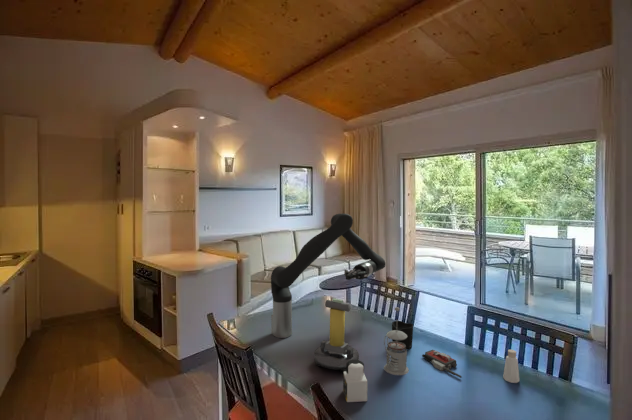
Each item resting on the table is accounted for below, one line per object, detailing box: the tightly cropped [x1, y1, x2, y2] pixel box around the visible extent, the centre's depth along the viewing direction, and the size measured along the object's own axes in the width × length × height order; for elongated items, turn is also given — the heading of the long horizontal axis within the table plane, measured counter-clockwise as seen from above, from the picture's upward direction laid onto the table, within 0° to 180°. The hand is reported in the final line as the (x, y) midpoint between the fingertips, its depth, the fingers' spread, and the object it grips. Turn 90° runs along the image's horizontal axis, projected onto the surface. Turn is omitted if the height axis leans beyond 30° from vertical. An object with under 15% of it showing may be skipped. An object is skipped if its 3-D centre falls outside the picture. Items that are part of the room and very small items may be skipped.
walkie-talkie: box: [421, 349, 463, 379], centre depth 143 cm, size 9×4×20 cm
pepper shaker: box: [502, 349, 520, 384], centre depth 133 cm, size 5×5×11 cm
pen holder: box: [391, 320, 414, 351], centre depth 161 cm, size 9×9×10 cm
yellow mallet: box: [324, 298, 351, 355], centre depth 144 cm, size 10×6×22 cm, turn 58°
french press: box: [383, 306, 410, 376], centre depth 141 cm, size 10×12×25 cm
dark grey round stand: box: [314, 339, 360, 375], centre depth 144 cm, size 18×18×8 cm
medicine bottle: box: [342, 359, 368, 403], centre depth 122 cm, size 7×7×12 cm
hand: (347, 277), depth 166 cm, fingers closed
